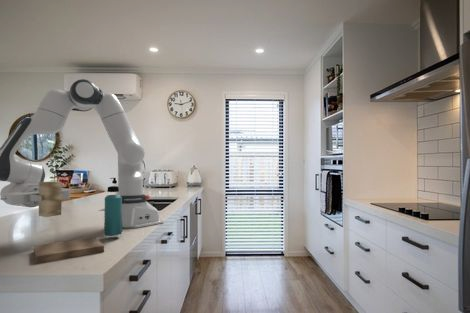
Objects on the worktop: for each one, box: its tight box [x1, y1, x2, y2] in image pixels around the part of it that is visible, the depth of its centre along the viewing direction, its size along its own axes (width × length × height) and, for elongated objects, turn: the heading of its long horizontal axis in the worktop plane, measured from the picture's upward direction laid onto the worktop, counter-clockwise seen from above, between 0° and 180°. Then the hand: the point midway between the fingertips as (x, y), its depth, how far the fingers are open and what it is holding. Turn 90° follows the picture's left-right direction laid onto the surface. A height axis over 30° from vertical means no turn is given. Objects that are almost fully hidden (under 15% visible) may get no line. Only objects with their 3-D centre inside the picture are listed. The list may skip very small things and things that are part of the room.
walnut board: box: [33, 236, 105, 265], centre depth 92 cm, size 18×14×2 cm
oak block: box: [38, 180, 63, 218], centre depth 101 cm, size 5×5×12 cm
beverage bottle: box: [103, 185, 123, 237], centre depth 110 cm, size 6×7×20 cm
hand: (51, 197), depth 101 cm, fingers closed on oak block, 5 cm apart
